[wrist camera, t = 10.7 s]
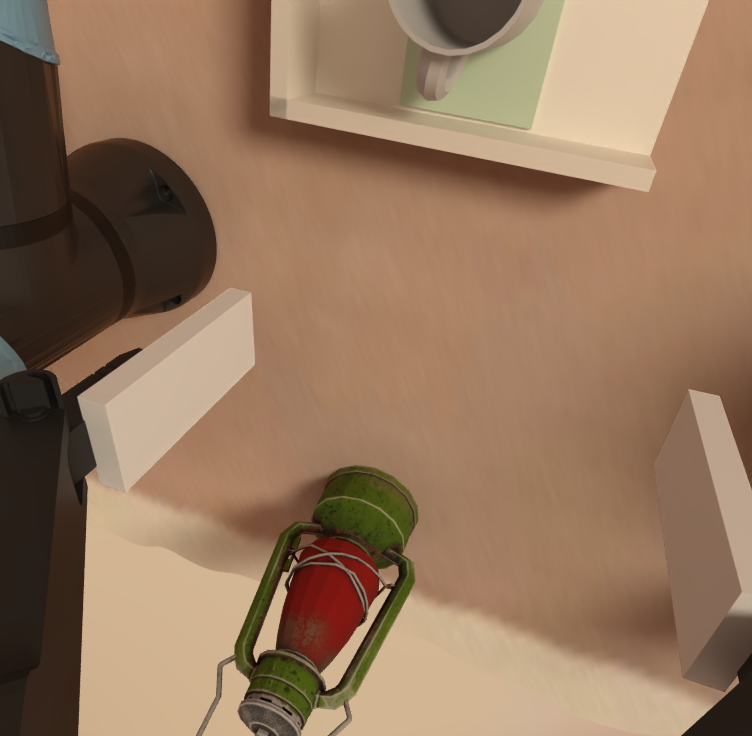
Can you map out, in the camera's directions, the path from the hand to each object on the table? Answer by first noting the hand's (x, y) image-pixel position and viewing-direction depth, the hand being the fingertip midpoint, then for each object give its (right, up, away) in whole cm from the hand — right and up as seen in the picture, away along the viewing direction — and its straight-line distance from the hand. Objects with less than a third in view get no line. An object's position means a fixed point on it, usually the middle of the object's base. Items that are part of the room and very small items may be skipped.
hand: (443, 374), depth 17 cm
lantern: (-3, -14, +43) cm, 45 cm away
